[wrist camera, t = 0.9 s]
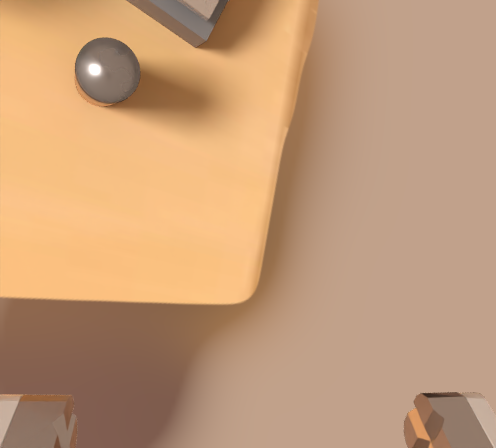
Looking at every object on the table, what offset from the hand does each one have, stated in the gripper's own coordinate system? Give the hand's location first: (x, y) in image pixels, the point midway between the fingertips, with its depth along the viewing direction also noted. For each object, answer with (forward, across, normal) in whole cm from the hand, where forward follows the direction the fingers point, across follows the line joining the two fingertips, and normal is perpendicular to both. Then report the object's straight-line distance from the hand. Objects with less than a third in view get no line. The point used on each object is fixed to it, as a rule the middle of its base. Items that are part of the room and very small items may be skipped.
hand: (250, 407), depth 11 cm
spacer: (+36, +10, +4) cm, 38 cm away
